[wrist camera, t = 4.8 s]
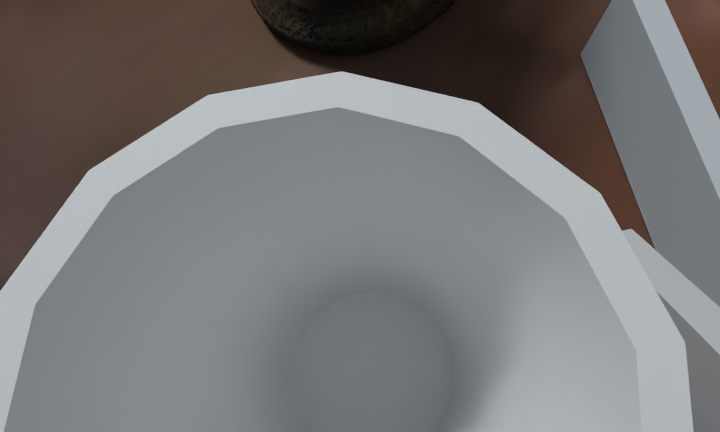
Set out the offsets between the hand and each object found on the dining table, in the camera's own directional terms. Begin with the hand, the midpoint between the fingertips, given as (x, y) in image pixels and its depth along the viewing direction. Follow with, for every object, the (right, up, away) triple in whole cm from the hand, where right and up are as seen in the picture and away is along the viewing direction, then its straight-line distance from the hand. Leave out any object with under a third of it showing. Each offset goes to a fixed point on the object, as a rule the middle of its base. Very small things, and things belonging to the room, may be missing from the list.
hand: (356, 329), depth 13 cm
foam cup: (+1, -3, +6) cm, 7 cm away
